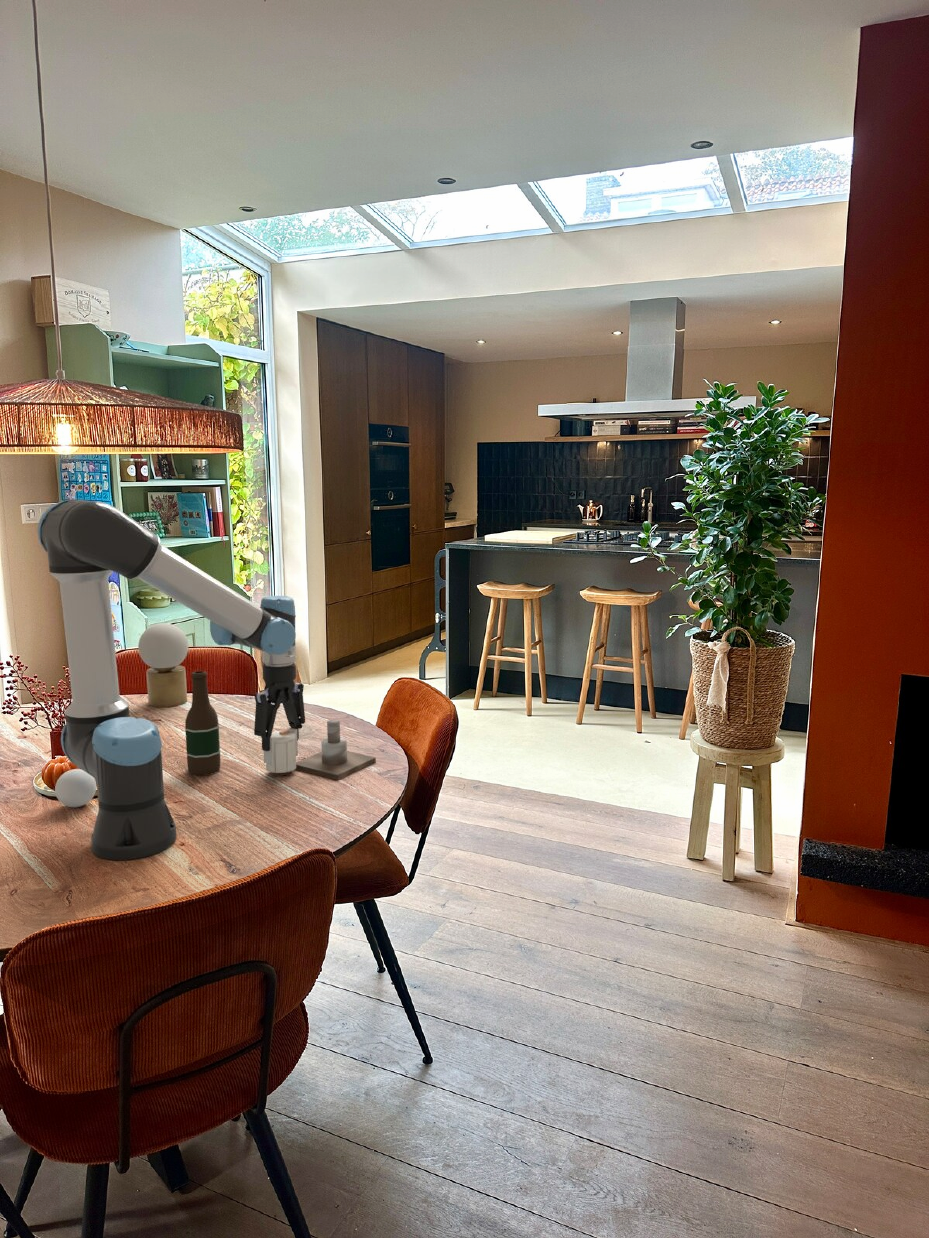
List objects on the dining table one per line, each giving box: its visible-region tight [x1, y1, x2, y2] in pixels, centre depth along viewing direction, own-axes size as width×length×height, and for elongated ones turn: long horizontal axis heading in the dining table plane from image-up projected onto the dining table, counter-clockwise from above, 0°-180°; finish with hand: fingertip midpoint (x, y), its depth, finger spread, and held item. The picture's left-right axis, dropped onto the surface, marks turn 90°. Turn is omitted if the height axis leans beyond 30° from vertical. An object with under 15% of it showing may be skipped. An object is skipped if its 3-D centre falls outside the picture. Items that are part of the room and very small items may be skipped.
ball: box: [54, 768, 97, 808], centre depth 178 cm, size 8×8×8 cm
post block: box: [295, 719, 377, 781], centre depth 202 cm, size 14×14×11 cm
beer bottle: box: [184, 670, 221, 776], centre depth 198 cm, size 8×8×24 cm
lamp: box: [137, 622, 189, 708], centre depth 254 cm, size 15×14×25 cm
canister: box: [265, 729, 297, 774], centre depth 197 cm, size 7×7×9 cm
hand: (281, 758), depth 197 cm, fingers closed on canister, 7 cm apart
